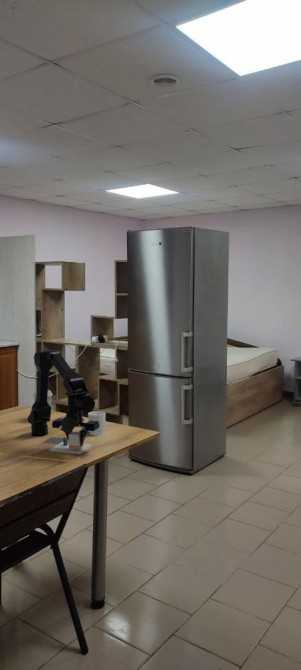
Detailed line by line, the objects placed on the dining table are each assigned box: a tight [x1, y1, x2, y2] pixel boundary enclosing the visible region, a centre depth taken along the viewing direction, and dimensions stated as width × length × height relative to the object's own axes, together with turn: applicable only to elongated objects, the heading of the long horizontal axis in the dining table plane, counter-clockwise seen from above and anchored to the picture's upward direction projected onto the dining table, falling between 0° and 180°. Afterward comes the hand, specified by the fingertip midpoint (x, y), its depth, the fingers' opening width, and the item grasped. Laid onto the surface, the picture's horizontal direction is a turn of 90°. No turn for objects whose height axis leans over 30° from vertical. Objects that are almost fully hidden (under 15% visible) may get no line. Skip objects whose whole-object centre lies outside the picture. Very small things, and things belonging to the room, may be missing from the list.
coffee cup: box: [32, 389, 53, 423], centre depth 253 cm, size 10×10×15 cm
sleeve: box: [68, 430, 85, 450], centre depth 204 cm, size 4×4×6 cm
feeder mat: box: [42, 436, 64, 445], centre depth 219 cm, size 8×8×1 cm
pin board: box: [48, 436, 93, 455], centre depth 208 cm, size 14×11×4 cm
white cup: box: [87, 410, 107, 437], centre depth 228 cm, size 8×8×10 cm
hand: (76, 445), depth 205 cm, fingers closed on sleeve, 4 cm apart
